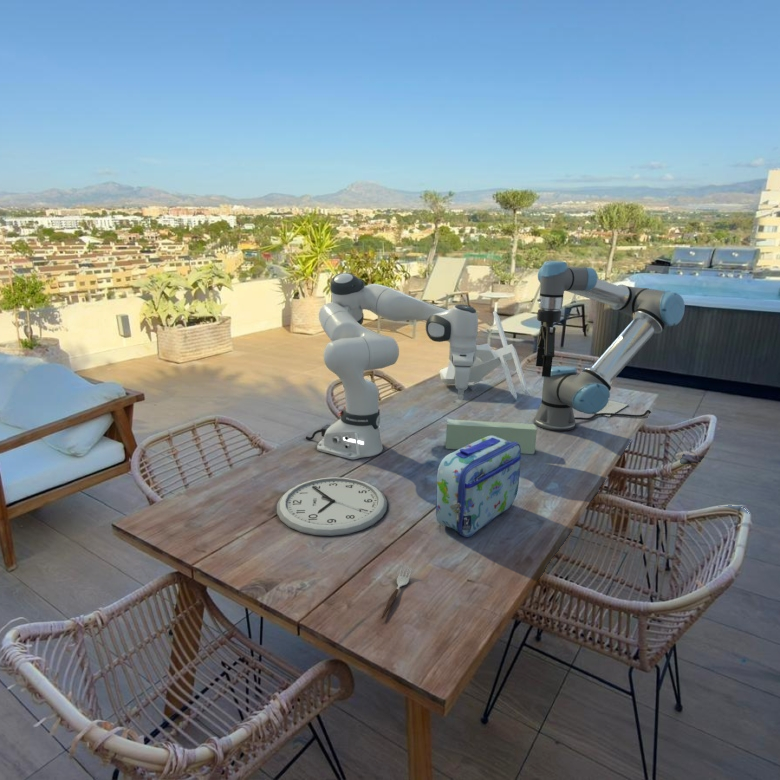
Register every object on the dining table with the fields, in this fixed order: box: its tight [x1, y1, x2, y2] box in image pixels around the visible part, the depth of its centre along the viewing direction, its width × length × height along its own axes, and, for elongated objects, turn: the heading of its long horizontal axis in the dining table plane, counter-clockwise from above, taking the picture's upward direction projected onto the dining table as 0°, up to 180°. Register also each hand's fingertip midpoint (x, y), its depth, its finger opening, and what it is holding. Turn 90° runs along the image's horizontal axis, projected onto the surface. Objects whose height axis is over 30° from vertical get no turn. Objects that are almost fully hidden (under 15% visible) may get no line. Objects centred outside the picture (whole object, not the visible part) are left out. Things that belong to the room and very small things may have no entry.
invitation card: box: [595, 399, 629, 418], centre depth 226 cm, size 21×1×15 cm
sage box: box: [445, 418, 538, 455], centre depth 180 cm, size 30×5×9 cm, turn 83°
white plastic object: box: [438, 310, 531, 400], centre depth 245 cm, size 37×45×31 cm
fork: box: [381, 564, 413, 619], centre depth 108 cm, size 3×16×2 cm, turn 160°
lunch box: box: [435, 436, 522, 538], centre depth 134 cm, size 26×11×21 cm, turn 134°
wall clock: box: [276, 476, 388, 537], centre depth 142 cm, size 30×2×30 cm
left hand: (460, 394), depth 177 cm, fingers open, 8 cm apart
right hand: (542, 371), depth 179 cm, fingers open, 13 cm apart
